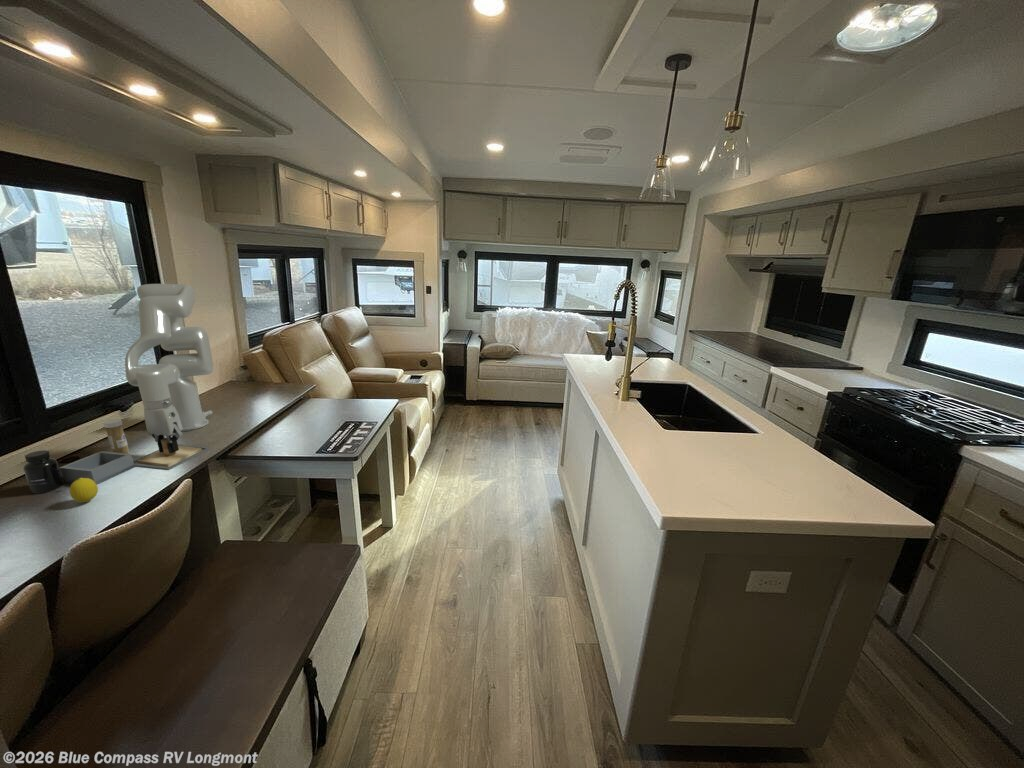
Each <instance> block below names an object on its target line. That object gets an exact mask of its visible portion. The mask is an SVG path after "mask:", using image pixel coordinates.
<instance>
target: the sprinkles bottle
mask: <svg viewBox="0 0 1024 768" xmlns="http://www.w3.org/2000/svg"><path fill="white" fill-rule="evenodd" d="M103 427H104V429H105V430H106V433H107V438H108V441H109V446H110V449H111V452H115V453H125V454H131V451H130V449H129V446H128V441H127V438H126V434H125V432H124V427H123V421H122V420H121V418H113V419H107V420H105V421H104V422H103Z"/></svg>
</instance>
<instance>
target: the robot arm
mask: <svg viewBox="0 0 1024 768" xmlns="http://www.w3.org/2000/svg"><path fill="white" fill-rule="evenodd" d="M136 293H137V296H138V298H139V301H138V312H139V313H138V314H139V315H138V316H139V317H138V318H139V331H140V335H139V337H138V338H137V339H136V341H134V343H132V344H131V346H130V347H129V348H128V350H127V352H126V353H125V357H124V366H125V379H126V380H127V382H128V384H129V385H131V386H133V387H138V389H139V390H138V391H139V393H140V396H141V400H142V401H141V402H142V405H143V415H144V423H145V426H146V431H147V432H146V433H147V434H148V435H149V436H151V437H152V438H153V439H154V441H155V443H157V447H158V450H159V452H164V451H163V447H162V443H161V439H164V438H167V440H168V443H167V446H168V450H169V453H173V452H176V451H178V450H179V448H178V444H179V443H178V440H179V438H181V437H182V436H183V435H184V434H183V432H186V431H193V430H197V429H200V428H203V427H205V426H208V424H209V423H210V422H209V419H208V418H207V416H211V415H213V411H212V410H207V411H204V410H203V409H202V405H201V401H200V400H201V399H200V396H199V391H198V386H197V384H196V383H195V382H194V380H192V379H191V378H190V377H198V376H199V377H200V376H207V375H210V374H212V373H213V371H214V363H213V362H214V361H213V356H212V350H211V343H210V340H209V335H208V333H207V331H206V329H204V328H203V327H199V326H189V327H186V326H184V321H183V319H185V318H189V317H190V315H191V313H192V311H193V308H194V305H195V303H196V302H195V301H196V293H195V290H194V288H193V287H192V286H191V285H189V284H186V283H147V284H145V283H144V284H141V285H139V286H138V287H137V289H136ZM157 346H160V347H161V349H163V350H164V351H167V352H181V351H182V352H183V351H195V352H193V353H177V354H175V353H174V354H167V355H165V356H162V357H161V358H160V359H159V360H158V363H157V364H155V363H154V364H139V363H140V361H139V360H140V358H141V357H142V355H143V354H145V353H146V352H147V351H149V350H150V349H152V348H155V347H157ZM171 437H172V438H171Z"/></svg>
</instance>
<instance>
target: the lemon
mask: <svg viewBox="0 0 1024 768" xmlns="http://www.w3.org/2000/svg"><path fill="white" fill-rule="evenodd" d="M98 492H99V488H98V484H97V485H96V483H95V482H94V481H93V480H92V479H89V478H79V479H78V480H76V481H74V482H73V483H72V482H71V484H70V487H69V494H70V497H71V498H72V499H73V500H74V501H76V502H81V503H82V502H83V503H89V502H90V501H91V500H93V499H94V498H95V497H96V496H97V494H98Z"/></svg>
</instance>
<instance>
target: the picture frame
mask: <svg viewBox="0 0 1024 768" xmlns="http://www.w3.org/2000/svg"><path fill="white" fill-rule="evenodd" d="M177 444H178V446H186V447H195V448H202V451H200V452H198V453H196V454H194V455H192V456H190V457H188V458H186V459H184V460H182V461H180V462H178V463H176V464H174V465H172V466H170V467H164V466H154V465H145V464H137V460H139V459H141V458H144V457H146V456H148V455H151V454H153V453H155V452H158V451H159V449H156V450H155V451H152V452H150V453H149V454H148V453H147V454H146V455H144V456H141V457H139V458H137V459H135V460H134V459H133V462H134V466H135V468H137V467H139V468H145V469H146V468H148V469H157V470H166V471H169V470H172V469H174V468H176V467H178V466H180V465H181V464H183V463H186V462H188V461H190V460H192V459H193V458H195V457H197V456H199V455H201V454H203V453H205V452H208V451H209V450H212V446H201V445H190V444H182V443H180V444H179V443H177Z"/></svg>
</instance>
